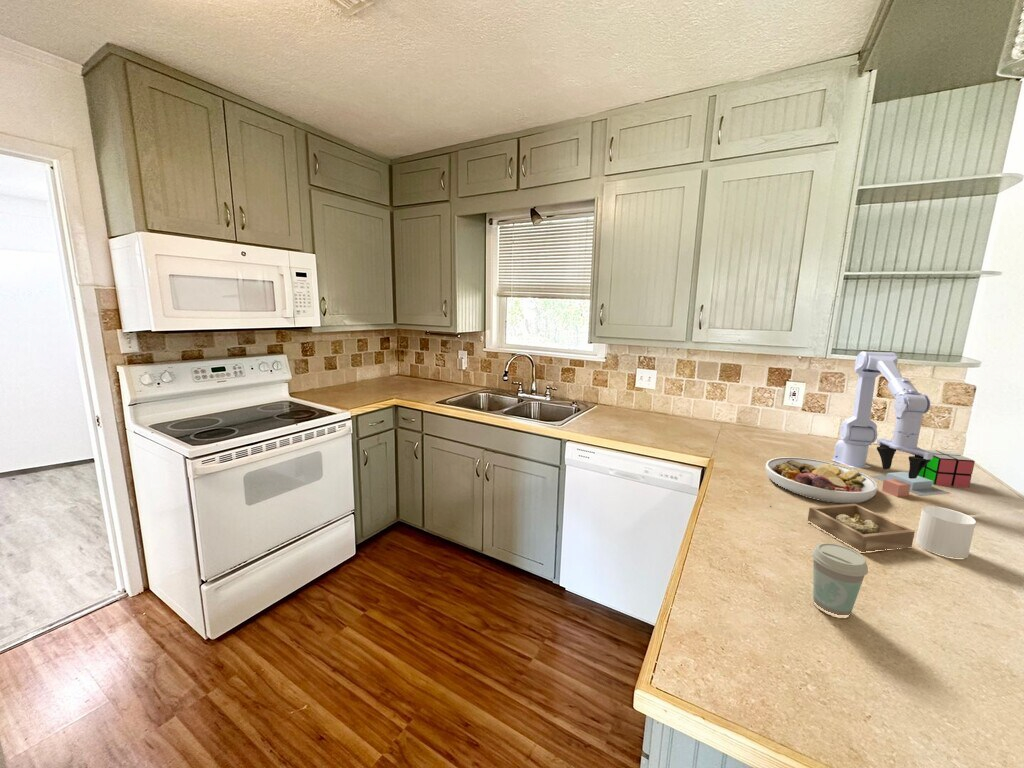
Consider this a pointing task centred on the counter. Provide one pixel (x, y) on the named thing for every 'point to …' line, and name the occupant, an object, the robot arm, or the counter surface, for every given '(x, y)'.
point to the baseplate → (920, 491)
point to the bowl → (821, 480)
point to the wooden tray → (887, 537)
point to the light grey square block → (911, 480)
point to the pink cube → (896, 487)
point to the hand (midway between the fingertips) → (898, 473)
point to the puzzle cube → (948, 469)
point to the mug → (945, 531)
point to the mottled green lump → (858, 524)
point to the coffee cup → (837, 577)
